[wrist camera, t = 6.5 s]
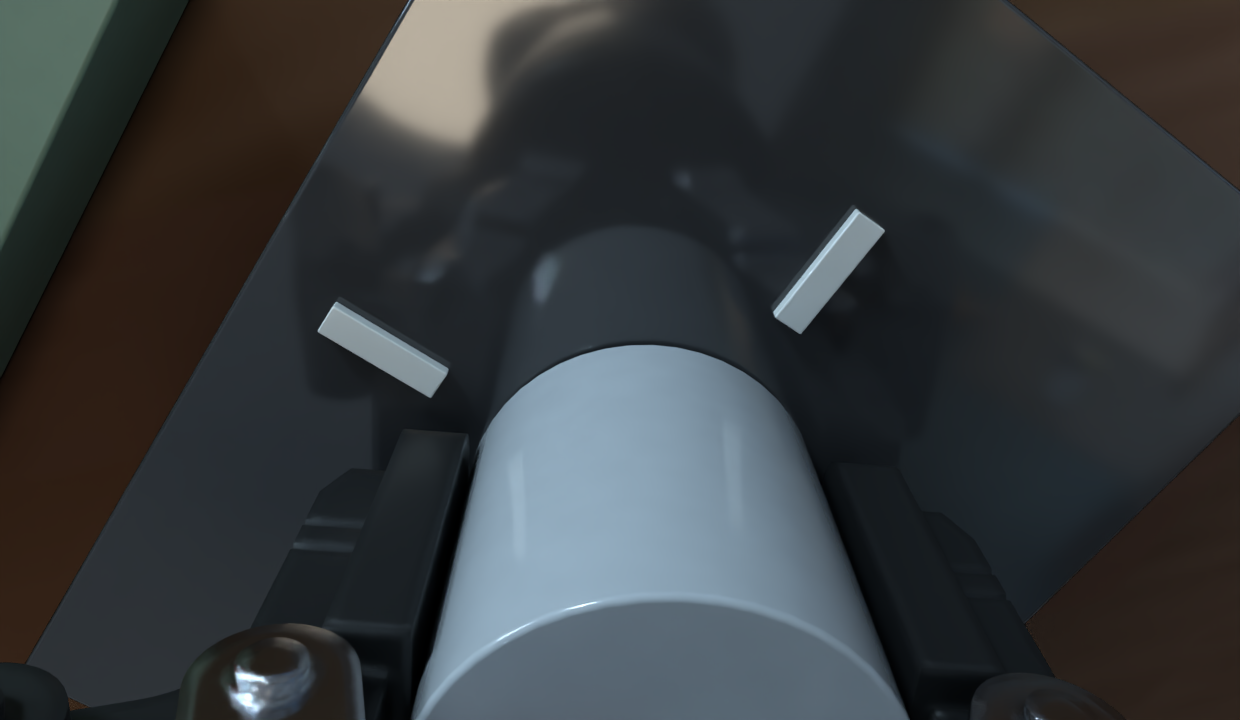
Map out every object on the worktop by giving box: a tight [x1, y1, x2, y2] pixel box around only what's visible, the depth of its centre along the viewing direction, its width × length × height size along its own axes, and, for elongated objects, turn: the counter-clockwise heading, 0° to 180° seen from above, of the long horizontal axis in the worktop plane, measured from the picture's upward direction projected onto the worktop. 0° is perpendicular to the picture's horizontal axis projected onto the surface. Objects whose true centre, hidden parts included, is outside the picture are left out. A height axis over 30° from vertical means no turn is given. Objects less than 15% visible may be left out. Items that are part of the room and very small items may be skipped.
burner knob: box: [410, 345, 910, 720], centre depth 10 cm, size 4×4×5 cm
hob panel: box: [25, 0, 1240, 707], centre depth 13 cm, size 13×10×3 cm
